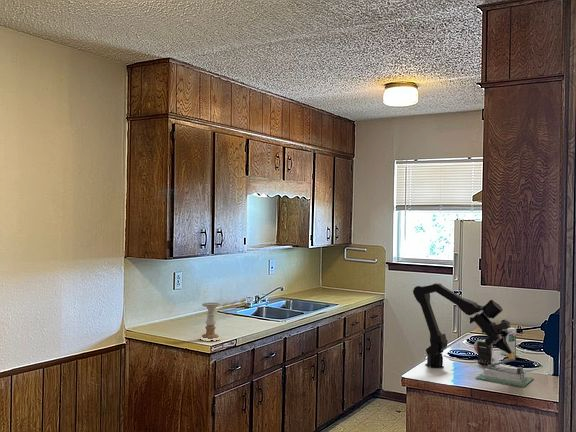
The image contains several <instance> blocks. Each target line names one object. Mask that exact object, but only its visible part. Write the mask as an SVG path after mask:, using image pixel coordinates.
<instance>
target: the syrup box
mask: <svg viewBox="0 0 576 432" xmlns="http://www.w3.org/2000/svg"><path fill="white" fill-rule="evenodd" d="M504 330H507V331H508V332H509V334H508V335H507V337H506V342H507V344H508V346H509V348H510V349H511V351H512V353H513V354H514V356H516V355H517V328H516V327H512V326H511V328H508V329H504ZM499 350H500V351H499V353H500V355H503V356H506V357H508V356H507V355H508V354H509V353H507V352H505V351H503V350H501V349H499Z"/></svg>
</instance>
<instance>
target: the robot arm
mask: <svg viewBox="0 0 576 432" xmlns="http://www.w3.org/2000/svg"><path fill="white" fill-rule="evenodd" d="M433 293H437V294H439V295H440V296H442V297H443V298H445V299H447V300H448V301H449V302H451V303H453V304H454V305H456V306H457V307H458V308H459V310H461V311H462V313H464V314H465V315H467V316H471V317H469V324H473V323H475V324H476V325H477V326H478V327H479V328H480V330H481V333H482V334H485V336H486V337H487V338H485V339H486V340H485V344H486V345H487V346H488V347H489V346H490V345H491V344H492V346H493V347H495V348H496V349H499V350H500V349H501V350H503V351H505V352H507V353H509V354H511V353H512V351H511V349H510V348H509V346H508V344H507V342H506V337H507V335H508V334H509V332H508V331H507V330H504V329H508V328H511V327H512V326H511V322H510V321H509V320H507V319H503V320H501V321H500V322H499V323H496V322H492V320H490V319H495V318H496V317H497V316H498V315H499V314H501V313H502V312H503V311H504V310H503V307H502V306H501V305H500V304H499V303H497V302H496V301H494V300H493V299H490V300H488V302H487V303H486V304H485V305H480V304H478V302H475V301H473V300H470V299H467V298H465V297H462V296H461V295H459V294H457V293H455V292H454V291H452V290H451V289H449V288H447V287H446V286H444V285H443V284H441V283H440V282H436V283H433V284H430V285H418V286H415V287H414V288H413V290H412V295H414V298H415V300H416V302H418V303H419V304H420V306H421V311H422V314H423V316H424V319H425V322H426V324H427V330H428V331H429V342H430V345H429V346H428V347H427V348H426V349H425V351H426V354H427V355H426V356H427V359H426V363H424V365H425V366H427V367H430V368H432V369H437V368H439V369H443V368H444V367H445V366H444V356H443V353H444V350H446V349H447V347H448V342H449V341H448V339H447V336H446V334H445V333H442V332H441V331H440V328H439V325H438V322H437V320H436V317H435V314H434V310H433V308H432V305H431V294H433ZM473 315H474V316H473Z"/></svg>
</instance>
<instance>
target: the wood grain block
mask: <svg viewBox="0 0 576 432" xmlns="http://www.w3.org/2000/svg"><path fill="white" fill-rule="evenodd" d="M515 356H516V355H514V354H513V353H511V354H508V355H507V356H506V357H507V358H508V359H505V360H502V361H498V362H497V361H496V362H493V363H494V364H491V365H492V367H493V366H499V365H503V364H506V363H509V362H510V363H511V362H514V361H515V360H516V357H515Z"/></svg>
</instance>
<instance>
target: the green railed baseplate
mask: <svg viewBox="0 0 576 432" xmlns="http://www.w3.org/2000/svg"><path fill="white" fill-rule="evenodd" d="M494 363H495V362H492V363H491V364H494ZM486 366H487V367H485V368H484V369H483V372H482V373H481V374H479V375H477V376H476V377H475V379H476V380H480V381H485V382H492V383H498V384H502V385H507V386H512V387H519V388H525V387H526V386H527V385H528V384H530V383H531V382H532V381H533V380H534V379H535V378H534V377H530V376H528V375H527V371H526V370H524V367H522V366H518V367H517V368H511V367H506V366H499V365H496V366H493V367H492V365H486Z"/></svg>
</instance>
